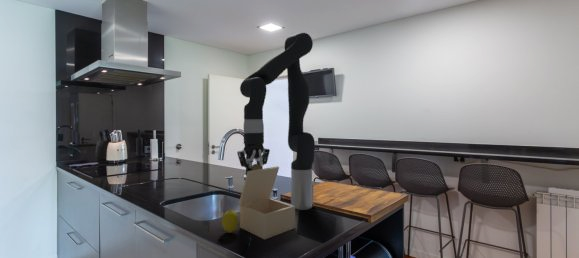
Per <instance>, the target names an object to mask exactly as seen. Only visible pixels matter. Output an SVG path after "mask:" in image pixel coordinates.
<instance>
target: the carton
mask: <svg viewBox="0 0 579 258" xmlns="http://www.w3.org/2000/svg"><path fill="white" fill-rule="evenodd" d="M239 222H240V223H239V226H240V227H239V228H241V229H242V230H243V231H247V232H249V233H251V234H252V235H255V236H257V237H258V238H261V239H262V240H267V239H271V238H273V237H274V236H275V237H276V236H278V235H280V234H282V233H285V232H288V231H291V230H293V229H295V228H296V209H295V206H293V205H291V203H290V204H289V203H286V202H285V201H284V202H283V201H280V200H277V199H275V198H271V197H270V198H267V199H264V200H260V201H256V202H252V203H248V204H244V205H239Z"/></svg>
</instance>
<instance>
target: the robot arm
mask: <svg viewBox="0 0 579 258" xmlns="http://www.w3.org/2000/svg"><path fill="white" fill-rule="evenodd" d="M313 44H314V43H313V39H312V36H311V35H310V34H308V33H307V32H298V33H296V34H291V35H289V36H288V37H286V39H285V41H284V50H283V51H282V52H280V53H279V54H278V55H275V56H274V57H272V58H270V60H268V61H267V62H266V63H264V65H262V66H261V67H260V68H259V69H258V70H257V71H254V72H253V73H252V74H250V75H249V76H247V77H246V78H244V80H243V81H241V83H240V85H239V86H240V87H239V90H240V94H241V95H242V96H243V97H245V98H249V100H248V103H246V104H245V105H244V106H243V107H244V108H243V145H244V147H243V149H242V150H240V151H239V150H238V151H237V153H236V154H237V158H238V161H239V163H240V166H241V167H244V168H245V176H246V175H247V172H248V171H252V168H251V167H252V165H253V162H254V161H255V164H259V165H260V166H261V169H264V168H263V166H264V165H267V164H268V160H269V156H270V151H271V150H270V149H269V148H265V147H264V143H265V139H264V138H265V126H264V119H263V118H264V114H263V113H264V111H263V109H264V104H265V100H266V95H267V86H268V85H270V84H272V83H273V82H274V81H275V80H277V78H278V77H280V75H281V74H283V73H284V72H285V71H286V72H287V98H288V130H287V132H288V133H287V145H288V147H289V150H291V151H292V152H293V153H296V155H295V156H296V157H295V159H294V160H293V161H292V162H291V164H290V180H291V181H290V205H293V206H295V210H298V211H306V210H307V211H308V210H309V209H312V208H313V206H312V204H313V205H314V184H313V164H314V161H315V147H316V144H315V138H314V136H313V135H312V133H310V132H308V131H307V132H305V131H304V119H305V116H306V113H307V110H308V107H309V104H310V86H309V83H308V81H307V79H306V77H305V75H304V73H303V71H302V69H301V63H300V59H301V58H303V57H305V56H306V55H307V54H309V53H310V52H311V51H312V49H313V46H314V45H313Z"/></svg>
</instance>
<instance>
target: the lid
mask: <svg viewBox="0 0 579 258" xmlns="http://www.w3.org/2000/svg"><path fill="white" fill-rule="evenodd" d="M251 168H252V171H248V172H247V175H246V174H245V180H244V184H243V187H242V191H241V193H240V194H241V195H240V198H239V201H238V206H241V205H245V204H249V203H253V202H256V201H260V200H264V199H268V198H271V195H272V192H273V189H274V186H275V182H276V179H277V176H278V173H279V169H280V166H272V167H266V168H265V167H264V168H263V169H261V166H260V165H259V164H257V163H254V164H252V166H251Z"/></svg>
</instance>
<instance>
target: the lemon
mask: <svg viewBox="0 0 579 258" xmlns="http://www.w3.org/2000/svg"><path fill="white" fill-rule="evenodd" d="M221 225H222V228H223V229H224V231H226V232H228V233H229V234H231V233H233V232H234V231H235V230H236V229H237V228H238V226H239V216H238V213H236V211H234V210H232V209H229V210H228V211H226V212H225V213H224V214H223V215H222V219H221Z"/></svg>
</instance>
